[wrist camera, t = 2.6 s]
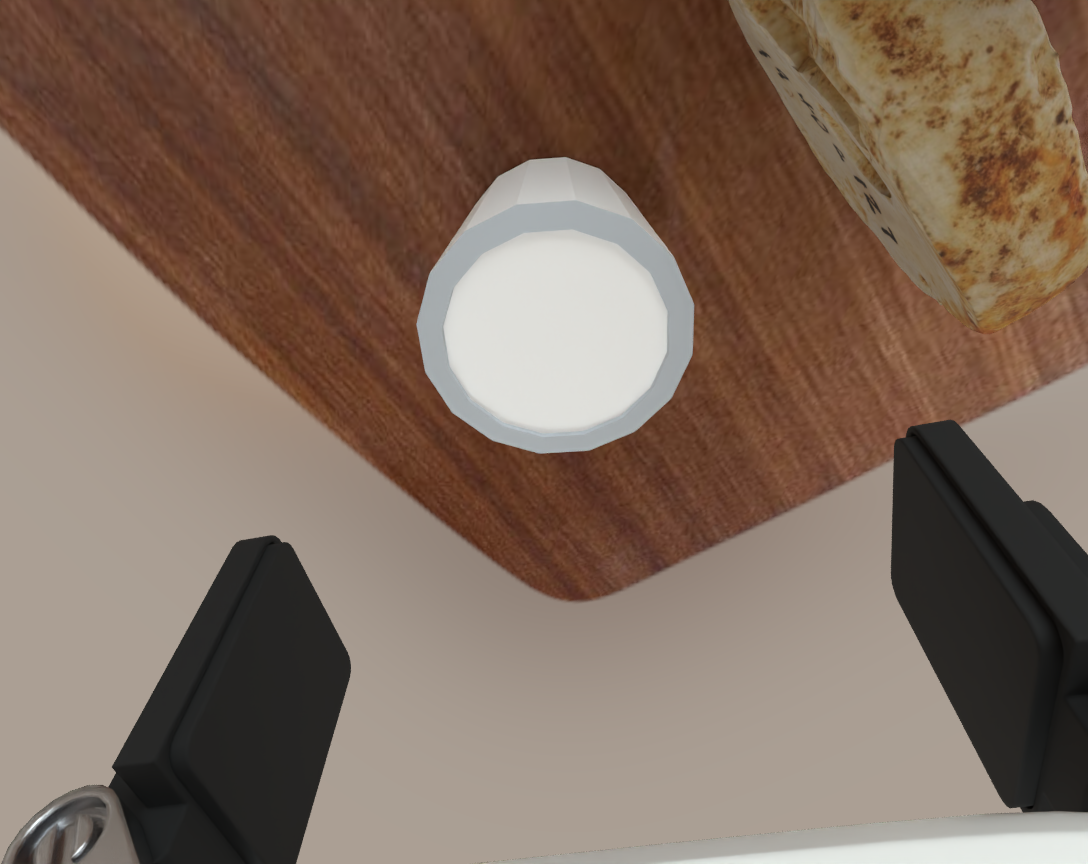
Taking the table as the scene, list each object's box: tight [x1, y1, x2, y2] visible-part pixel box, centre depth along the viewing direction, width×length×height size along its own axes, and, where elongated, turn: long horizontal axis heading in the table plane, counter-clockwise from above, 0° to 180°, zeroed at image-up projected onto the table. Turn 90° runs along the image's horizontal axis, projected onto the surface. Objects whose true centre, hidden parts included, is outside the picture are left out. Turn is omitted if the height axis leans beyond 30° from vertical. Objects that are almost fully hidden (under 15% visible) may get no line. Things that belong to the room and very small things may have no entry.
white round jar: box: [417, 157, 694, 453], centre depth 22 cm, size 7×7×7 cm
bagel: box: [728, 0, 1088, 334], centre depth 18 cm, size 10×4×10 cm, turn 38°
